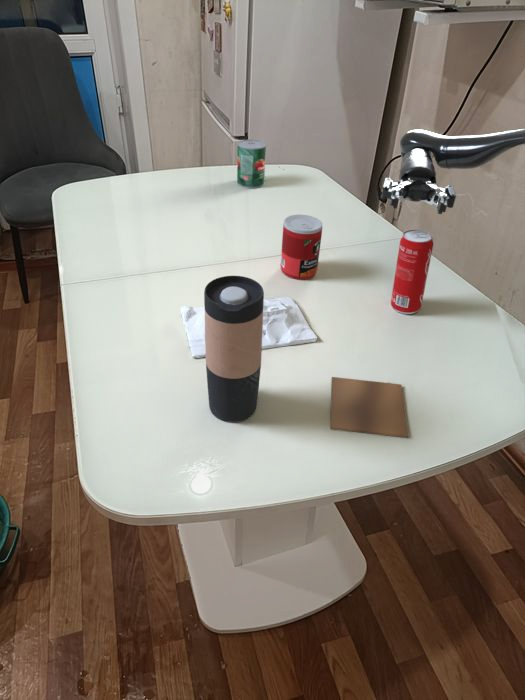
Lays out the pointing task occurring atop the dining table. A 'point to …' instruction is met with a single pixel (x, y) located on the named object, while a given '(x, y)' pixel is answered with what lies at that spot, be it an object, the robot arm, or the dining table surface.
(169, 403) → the dining table surface
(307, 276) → the canned food
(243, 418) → the travel mug
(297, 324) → the terrain model
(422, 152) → the robot arm
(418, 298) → the beverage can
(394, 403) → the cork mat
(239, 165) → the canned tomato
